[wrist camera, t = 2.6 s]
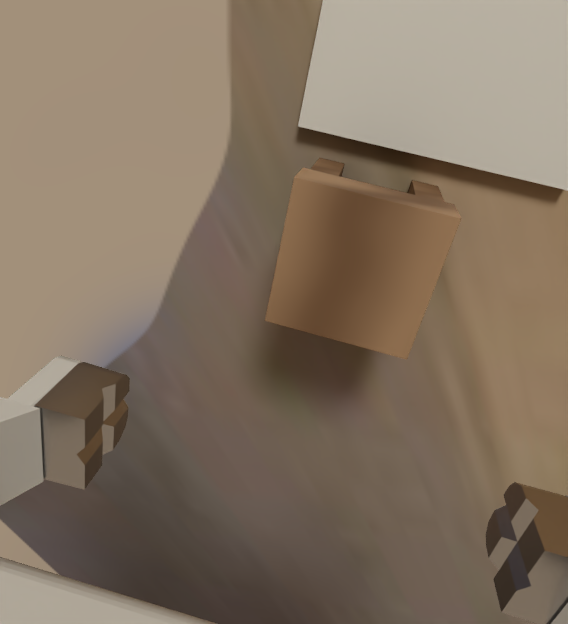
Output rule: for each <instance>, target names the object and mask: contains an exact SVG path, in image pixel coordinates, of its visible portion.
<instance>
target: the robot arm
mask: <svg viewBox="0 0 568 624" xmlns="http://www.w3.org/2000/svg"><path fill="white" fill-rule="evenodd" d="M129 384H130V378H129V377H128V376H127V375H126V374H122V373H119V372H116V371H112V370H109V369H106V368H102V367H99V366H96V365H92V364H89V363H86V362H81V361H78V360H75V359H71V358H68V357H64V356H59V357H56V358H54V359H53V360H52V361H51V362H49V363H48V364H47V365H46V366H45V367H43V368H42V369H41V370H40V371H39V372H38V373H37V374H35V375H34V376H33V377H32V378H31V379H30V380H28V381H27V382H26V383H25V384H24V385H23V386H22V387H20V388H19V389H18V390H17V391H16V392H14V394H12V395H11V396H10V397H9V398H8V399H5V398H2V397H0V505H2V504H4V503H6V502H7V501H9V500H11V499H13V498H15V497H16V496H18V495H20V494H22V493H24V492H25V491H27V490H29V489H31V488H33V487H34V486H36V485H38V484H40V483H41V482H43V481H44V479H46V480H50V481H54V482H58V483H61V484H65V485H69V486H73V487H77V488H80V489H84V490H85V488H86V487H87V486H88V484H89V483H90V481H91V480H92V479H93V477H94V476H95V474H96V473H97V472H98V470H99V469H100V467H101V466H102V455H103V454H105V453H107V452H109V451H112V450H113V449H114V448H115V446H116V445H117V443H118V442H119V440H120V438H121V436H122V434H123V431H124V429H125V426H126V422H127V418H128V406H127V404H126V403H125V401H124V400H123V399H124V397H125V396H126V395H127V393H128V392H129ZM504 498H505V502H506V505H505V506H503V507H501V508H499V509H496V510H494V512H493V514H492V516H491V518H490V520H489V522H488V527H487V532H486V548H487V552H488V557H489V559H490V560H491V561H492V563H493V564H494V565H495V566H496V568H497V569H498V570H499V571H498V573H497V574H496V576H495V577H494V583H495V587H496V592H497V596H498V600H499V604H500V608H501V612H502V613H505V614H508V615H511V616H514V617H517V618H520V619H523V620H527V621H530V622H533V623H536V624H568V496H564V495H560V494H557V493H553V492H549V491H546V490H542V489H538V488H535V487H531V486H527V485H523V484H520V483H516V482H514V483H513V484H512V485H510V486H509V487H508V489H507V490H506V492H505V494H504ZM0 624H216V623H213V622H210V621H207V620H203V619H200V618H197V617H194V616H190V615H187V614H184V613H181V612H177V611H174V610H171V609H168V608H164V607H161V606H158V605H155V604H151V603H148V602H145V601H142V600H138V599H135V598H132V597H129V596H125V595H122V594H119V593H116V592H112V591H109V590H106V589H103V588H100V587H96V586H93V585H90V584H87V583H83V582H80V581H77V580H74V579H70V578H67V577H64V576H61V575H57V574H54V573H51V572H47V571H44V570H41V569H38V568H35V567H31V566H28V565H25V564H22V563H18V562H15V561H12V560H8V559H5V558H2V557H0Z"/></svg>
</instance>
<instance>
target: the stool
mask: <svg viewBox="0 0 568 624" xmlns="http://www.w3.org/2000/svg"><path fill="white" fill-rule="evenodd" d="M343 168H344V164H343V163H339V162H335V161H331V160H327V159H323V158H319V159H318V160H317V162H316V163H315V164H314V165H313V167H312V168H311V169H307V168H302V169H301V170H300V171H299V173H298V174H297V175H296V176H295V177H294V181H293V186H292V191H291V196H290V200H289V205H288V210H287V215H286V220H285V225H284V230H283V235H282V240H281V244H280V249H279V254H278V259H277V264H276V269H275V274H274V279H273V283H272V288H271V293H270V298H269V303H268V308H267V313H266V318H265V321H267V322H271V323H275V324H278V325H282V326H286V327H289V328H293V329H297V330H300V331H304V332H308V333H311V334H315V335H319V336H322V337H326V338H330V339H333V340H337V341H341V342H344V343H348V344H352V345H356V346H359V347H363V348H367V349H370V350H374V351H378V352H381V353H385V354H389V355H392V356H396V357H400V358H403V359H407V358H408V355H409V353H410V350H411V347H412V345H413V342H414V340H415V337H416V335H417V332H418V329H419V327H420V324H421V322H422V319H423V316H424V314H425V311H426V309H427V306H428V304H429V301H430V298H431V296H432V293H433V291H434V288H435V285H436V283H437V280H438V278H439V275H440V273H441V270H442V267H443V265H444V262H445V260H446V257H447V255H448V252H449V249H450V247H451V244H452V242H453V239H454V236H455V234H456V231H457V229H458V226H459V224H460V221H461V217H460V215H459V213H458V211H457V209H456V207H455V205H454V204H450V203H446V202H444V199H443V197H442V195H441V192H440V190H439V188H438V186H434V185H430V184H426V183H422V182H418V181H414V180H412V182H411V185H410V188H409V191H408V193H405V192H401V191H397V190H393V189H389V188H385V187H381V186H377V185H372V184H368V183H364V182H360V181H356V180H352V179H348V178H344V177H341V176H342V172H343Z"/></svg>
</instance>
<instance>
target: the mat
mask: <svg viewBox="0 0 568 624" xmlns="http://www.w3.org/2000/svg"><path fill="white" fill-rule="evenodd" d="M298 127H303V128H307V129H311V130H315V131H319V132H324V133H328V134H332V135H336V136H341V137H345V138H349V139H353V140H357V141H362V142H366V143H370V144H374V145H378V146H383V147H387V148H391V149H395V150H399V151H404V152H408V153H412V154H416V155H420V156H425V157H429V158H433V159H437V160H441V161H446V162H450V163H454V164H458V165H463V166H467V167H471V168H475V169H479V170H484V171H488V172H492V173H496V174H500V175H505V176H509V177H513V178H517V179H521V180H526V181H530V182H534V183H538V184H542V185H547V186H551V187H555V188H559V189H564V190H568V0H323V3H322V8H321V13H320V18H319V23H318V28H317V33H316V38H315V43H314V48H313V53H312V58H311V63H310V68H309V73H308V78H307V83H306V88H305V93H304V99H303V104H302V109H301V114H300V119H299V124H298Z"/></svg>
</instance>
